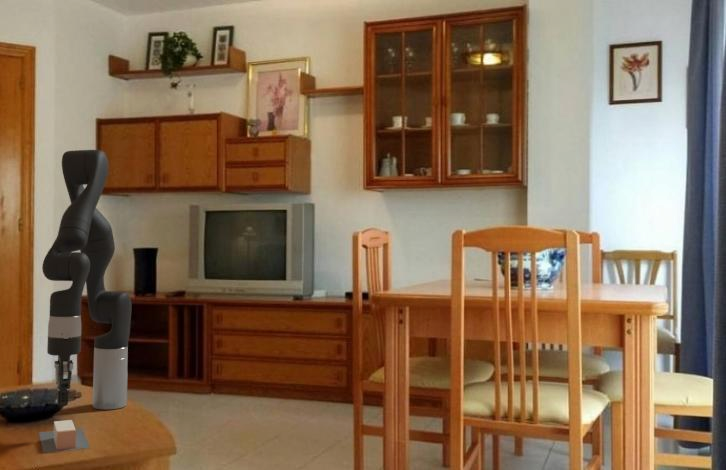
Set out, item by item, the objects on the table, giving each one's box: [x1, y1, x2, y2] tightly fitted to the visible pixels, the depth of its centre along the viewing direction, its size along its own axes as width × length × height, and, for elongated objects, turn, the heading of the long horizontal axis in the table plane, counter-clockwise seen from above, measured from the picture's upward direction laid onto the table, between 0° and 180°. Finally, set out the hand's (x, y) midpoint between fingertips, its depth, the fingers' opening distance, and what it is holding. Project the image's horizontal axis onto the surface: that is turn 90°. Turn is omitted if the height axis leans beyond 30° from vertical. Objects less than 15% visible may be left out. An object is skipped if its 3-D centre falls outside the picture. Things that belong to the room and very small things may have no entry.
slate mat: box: [38, 427, 91, 454], centre depth 169 cm, size 18×10×1 cm, turn 28°
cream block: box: [53, 419, 77, 450], centre depth 167 cm, size 4×4×10 cm
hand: (62, 405), depth 171 cm, fingers closed
